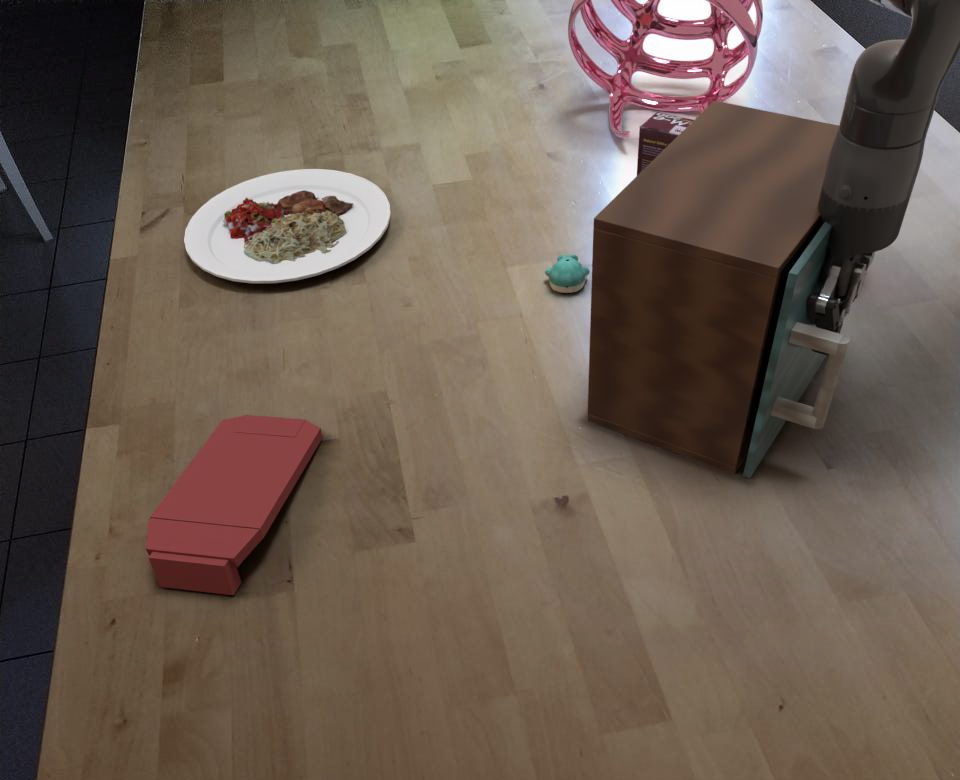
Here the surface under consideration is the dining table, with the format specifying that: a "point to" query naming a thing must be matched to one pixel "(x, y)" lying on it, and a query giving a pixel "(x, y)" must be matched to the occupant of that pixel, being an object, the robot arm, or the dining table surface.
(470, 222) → the dining table surface
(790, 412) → the door
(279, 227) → the plated food
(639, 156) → the supplement box
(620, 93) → the spiral basket
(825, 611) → the dining table surface
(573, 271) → the whale figurine
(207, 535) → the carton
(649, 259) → the cupboard
